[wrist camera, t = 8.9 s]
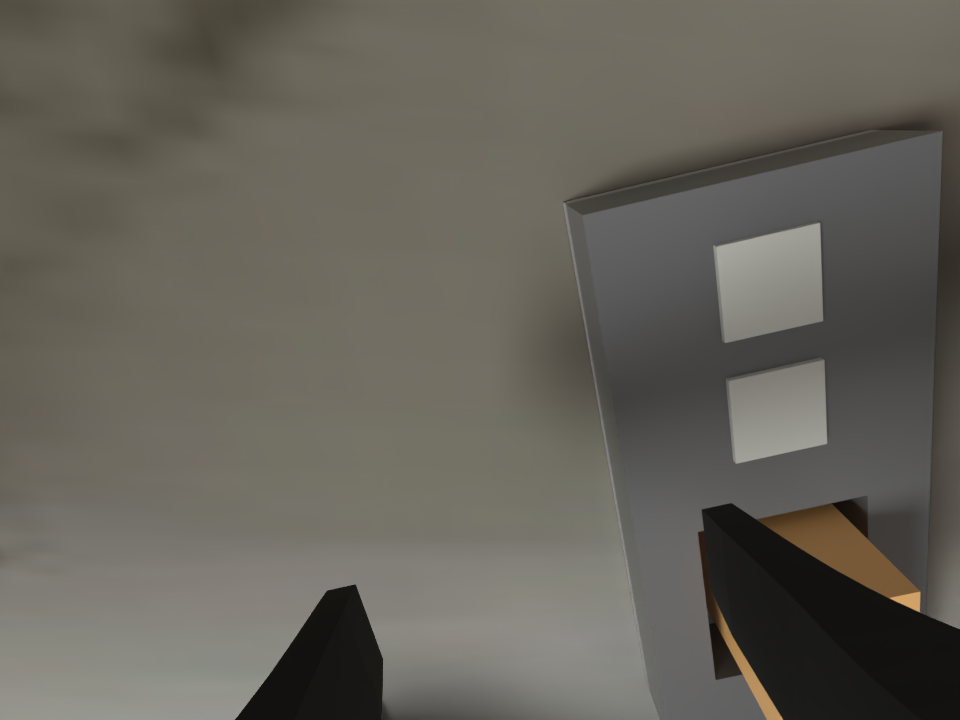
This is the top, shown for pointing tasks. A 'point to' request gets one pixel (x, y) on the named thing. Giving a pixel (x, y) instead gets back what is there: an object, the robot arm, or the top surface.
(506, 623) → the top surface
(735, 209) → the power strip
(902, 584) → the plug block
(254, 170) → the top surface
